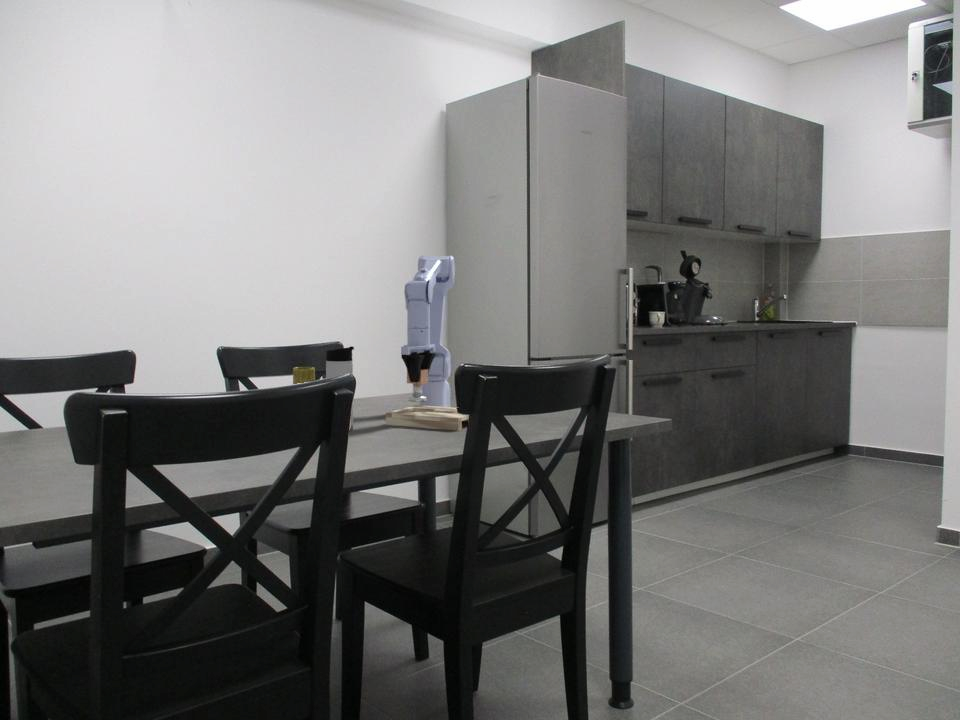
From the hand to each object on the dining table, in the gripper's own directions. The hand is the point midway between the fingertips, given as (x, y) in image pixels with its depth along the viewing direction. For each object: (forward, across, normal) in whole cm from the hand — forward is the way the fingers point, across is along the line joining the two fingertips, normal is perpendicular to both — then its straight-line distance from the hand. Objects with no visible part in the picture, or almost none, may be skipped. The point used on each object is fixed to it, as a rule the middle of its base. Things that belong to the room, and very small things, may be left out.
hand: (418, 381), depth 204 cm
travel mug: (+11, +19, -11) cm, 24 cm away
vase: (+11, +17, -23) cm, 31 cm away
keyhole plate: (+10, 0, +5) cm, 12 cm away
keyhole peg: (+5, 0, 0) cm, 5 cm away
